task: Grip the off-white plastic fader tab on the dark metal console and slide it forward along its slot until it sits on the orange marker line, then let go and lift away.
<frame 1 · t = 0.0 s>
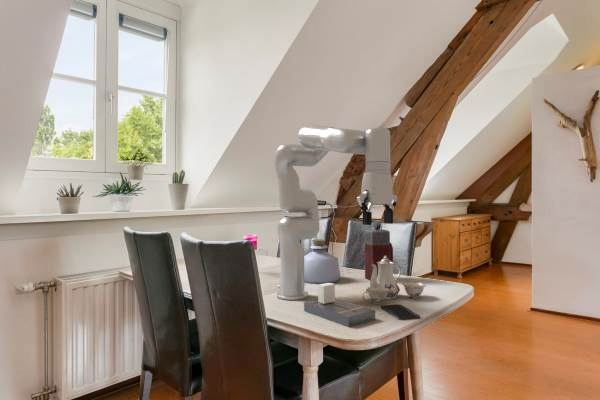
hand: (378, 223, 128), 31 cm above the table, fingers open, 9 cm apart
chinaware: (390, 299, 160), on the table
bottle: (319, 280, 196), on the table
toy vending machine: (379, 279, 195), on the table
fader tab: (326, 292, 143), point 6 cm above the table, slide at 0.0 cm
phone: (399, 314, 140), on the table
fader console: (338, 315, 138), on the table
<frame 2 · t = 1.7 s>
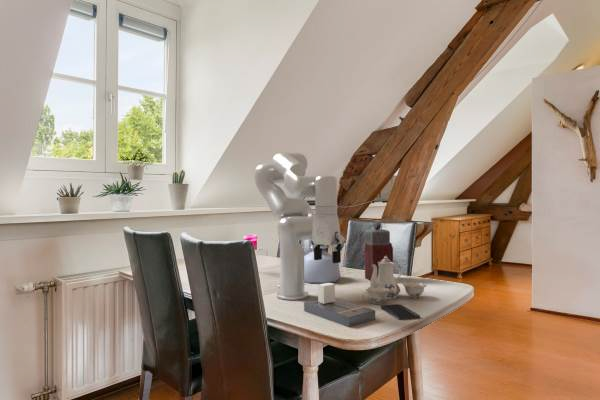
hand: (327, 261, 142), 17 cm above the table, fingers open, 9 cm apart
nothing on the table moved.
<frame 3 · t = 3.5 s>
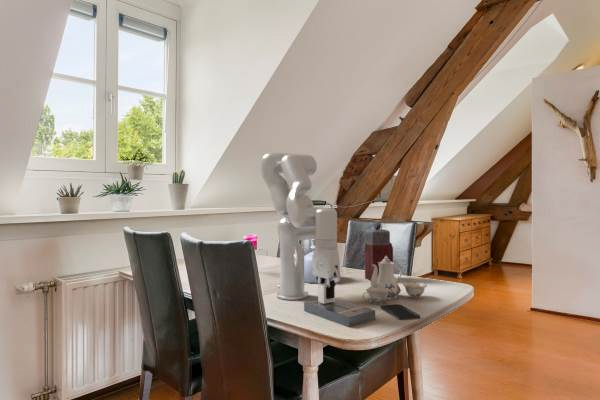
hand: (326, 296, 143), 5 cm above the table, fingers closed on fader tab, 3 cm apart
fader tab: (326, 292, 143), point 6 cm above the table, slide at 0.0 cm, touching gripper
everything else where it was.
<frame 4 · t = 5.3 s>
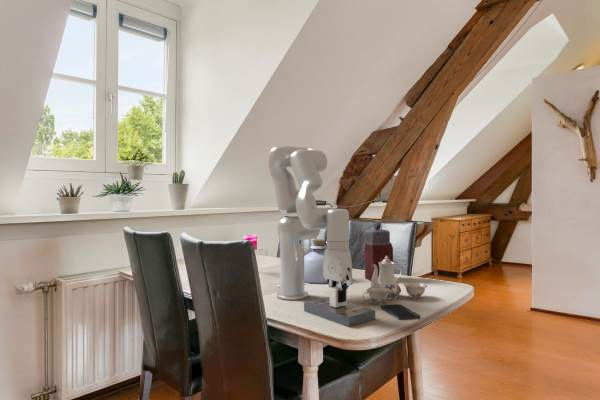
hand: (338, 300, 138), 5 cm above the table, fingers closed on fader tab, 3 cm apart
fader tab: (338, 296, 138), point 6 cm above the table, slide at 5.9 cm, touching gripper
everything else where it was.
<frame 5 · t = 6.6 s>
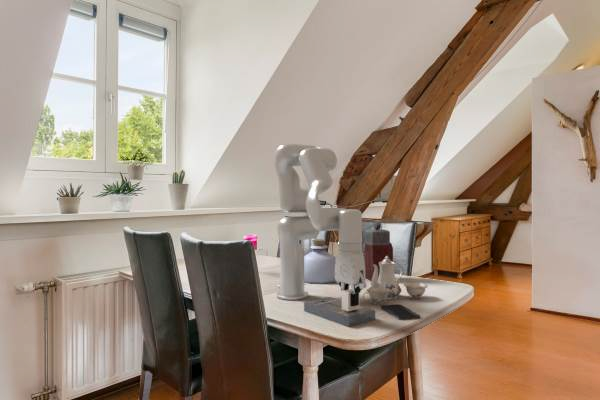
hand: (350, 303, 133), 5 cm above the table, fingers closed on fader tab, 3 cm apart
fader tab: (350, 299, 133), point 6 cm above the table, slide at 11.8 cm, touching gripper
everything else where it was.
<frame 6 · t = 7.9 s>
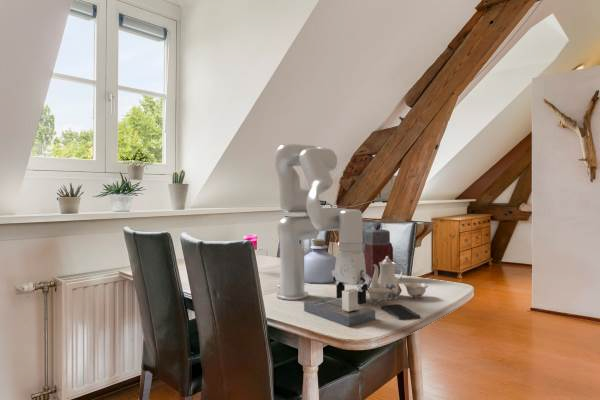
hand: (350, 300, 133), 6 cm above the table, fingers open, 9 cm apart
fader tab: (350, 299, 133), point 6 cm above the table, slide at 12.0 cm
everything else where it was.
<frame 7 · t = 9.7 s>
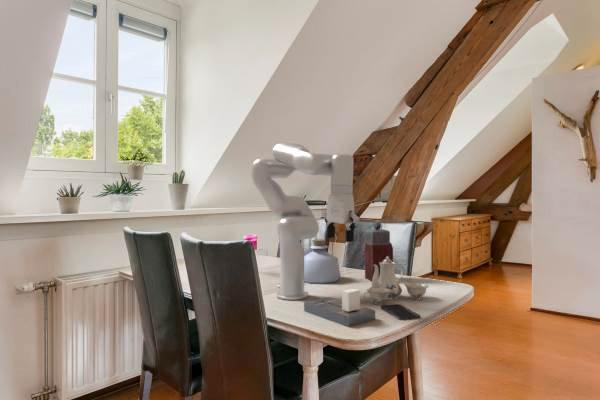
hand: (339, 239, 143), 25 cm above the table, fingers open, 9 cm apart
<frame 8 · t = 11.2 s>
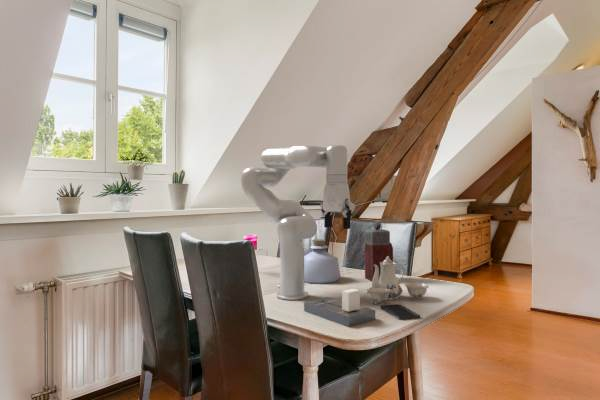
hand: (337, 228, 148), 28 cm above the table, fingers open, 9 cm apart
at the end: fader tab slide at 12.0 cm; the gripper is holding nothing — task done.
